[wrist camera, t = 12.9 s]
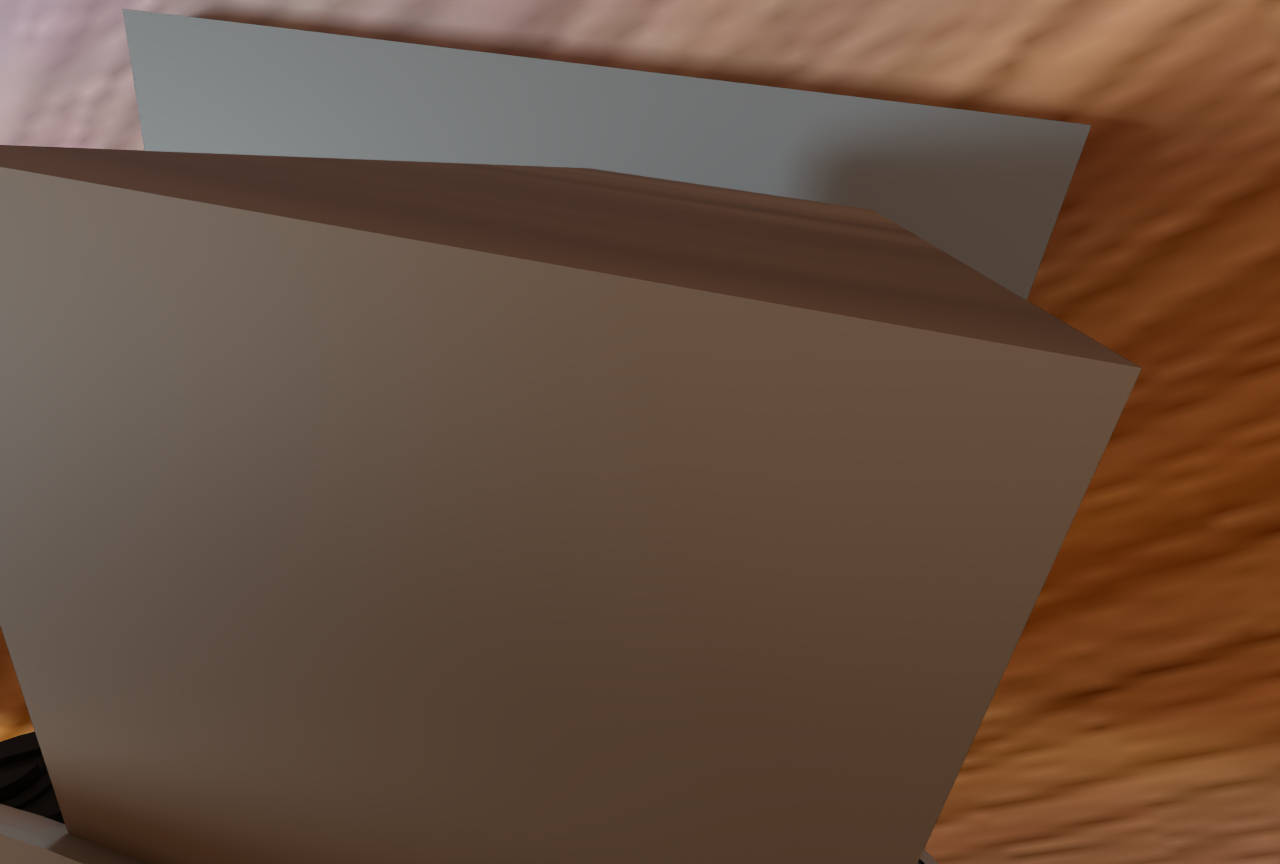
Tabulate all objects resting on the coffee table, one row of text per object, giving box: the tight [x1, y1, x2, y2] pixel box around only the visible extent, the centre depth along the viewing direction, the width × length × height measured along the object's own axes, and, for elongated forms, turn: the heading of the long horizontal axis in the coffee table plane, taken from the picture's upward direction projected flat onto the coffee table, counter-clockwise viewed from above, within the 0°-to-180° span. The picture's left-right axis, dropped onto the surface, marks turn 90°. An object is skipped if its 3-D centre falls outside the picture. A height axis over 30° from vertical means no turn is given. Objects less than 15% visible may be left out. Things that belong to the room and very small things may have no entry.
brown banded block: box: [0, 145, 1142, 864], centre depth 10 cm, size 14×5×10 cm, turn 172°
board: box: [123, 9, 1091, 300], centre depth 19 cm, size 23×18×2 cm
